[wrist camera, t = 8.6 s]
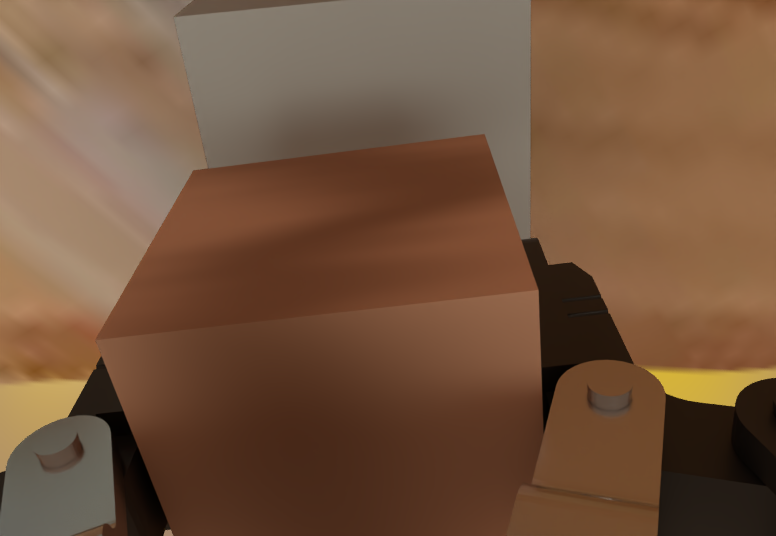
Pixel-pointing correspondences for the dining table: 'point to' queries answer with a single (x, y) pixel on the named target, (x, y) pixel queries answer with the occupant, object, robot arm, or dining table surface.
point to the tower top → (361, 79)
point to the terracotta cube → (335, 347)
